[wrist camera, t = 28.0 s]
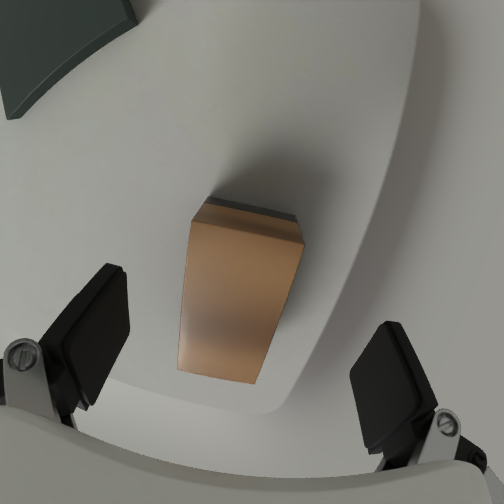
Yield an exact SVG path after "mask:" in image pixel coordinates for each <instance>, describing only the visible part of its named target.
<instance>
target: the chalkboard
mask: <svg viewBox="0 0 504 504" xmlns="http://www.w3.org/2000/svg"><path fill="white" fill-rule="evenodd" d="M137 25H138V22H137V19H136V17H135V14H134V11H133V9H132V6H131V3H130V1H129V0H0V89H1V94H2V100H3V105H4V109H5V114H6V118H7V120H12V119H19V118H21V117H22V116H23V115H24V114H25V113H26V112H27V110H28V109H29V108H30V107H31V106H32V105H33V104H34V103H35V102H36V101H37V100H38V99H39V98H40V97H41V96H42V95H43V94H45V93H46V92H47V91H48V90H49V89H50V88H51V87H52V86H53V85H54V84H55V83H57V82H58V81H59V80H60V79H61V78H62V77H64V76H65V75H66V74H67V73H68V72H70V71H71V70H72V69H73V68H74V67H76V66H77V65H78V64H80V63H81V62H82V61H84V60H85V59H86V58H88V57H89V56H90V55H92V54H93V53H94V52H96V51H97V50H99V49H100V48H102V47H103V46H104V45H106V44H107V43H109V42H111V41H112V40H114V39H115V38H117V37H118V36H120V35H122V34H123V33H125V32H127V31H128V30H130V29H132V28H133V27H135V26H137Z"/></svg>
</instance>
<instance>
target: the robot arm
mask: <svg viewBox="0 0 504 504" xmlns="http://www.w3.org/2000/svg"><path fill="white" fill-rule="evenodd" d="M129 332H130V321H129V309H128V294H127V275H126V272H123V269H122V267H120V266H117V265H113V264H109V263H106V264H105V265H104V266H103V267H102V268H101V269H100V270H99V271H98V272H97V273H96V274H95V276H94V277H93V278H92V279H91V280H90V281H89V282H88V283H87V284H86V286H85V287H84V288H83V289H82V290H81V291H80V293H78V294H77V295H76V296H75V297H74V298H73V299H72V300H71V302H70V303H69V304H68V305H67V306H66V308H65V309H64V310H63V311H62V312H61V314H60V315H59V316H58V317H57V319H56V320H55V321H54V322H53V324H52V325H51V326H50V328H49V329H48V330H47V331H46V333H45V334H44V335H43V337H42V338H41V339H40V341H39V342H38V343H37V342H35V341H34V340H32V339H28V338H22V339H18V340H15V341H14V342H12V343H10V345H9V346H8V347H7V348H6V350H5V352H4V356H3V359H0V504H504V485H503V484H502V482H501V481H500V480H499V479H498V477H497V476H496V475H495V474H494V472H493V471H492V470H491V469H490V467H489V466H488V467H487V458H486V454H485V453H484V452H483V450H481V449H480V448H479V447H478V446H476V445H474V444H473V443H472V442H470V441H469V440H467V439H466V438H464V437H463V436H461V435H460V433H461V424H460V421H459V419H458V417H457V416H456V415H455V414H454V413H453V412H452V411H451V410H448V409H439V410H438V411H437V412H435V411H434V409H435V408H436V407H437V406H438V402H437V400H436V398H435V395H434V393H433V390H432V388H431V386H430V384H429V381H428V379H427V377H426V375H425V373H424V370H423V368H422V366H421V364H420V361H419V359H418V357H417V355H416V353H415V351H414V349H413V347H412V345H411V343H410V341H409V339H408V337H407V335H406V333H405V331H404V329H403V327H402V325H401V324H400V323H399V322H393V321H385V322H384V323H383V324H381V325H380V326H379V327H378V329H377V330H376V332H375V334H374V335H373V337H372V338H371V340H370V342H369V343H368V345H367V346H366V348H365V349H364V351H363V352H362V354H361V355H360V357H359V358H358V360H357V361H356V363H355V364H354V366H353V367H352V368H351V370H350V381H351V385H352V389H353V394H354V397H355V402H356V407H357V411H358V416H359V421H360V426H361V431H362V436H363V440H364V445H365V447H366V448H368V453H369V455H370V454H378V453H381V452H383V455H384V457H383V458H382V460H381V462H380V464H379V466H378V467H377V469H376V470H375V472H374V473H367V474H359V475H351V476H340V477H325V478H268V477H255V476H243V475H235V474H227V473H220V472H213V471H208V470H202V469H197V468H192V467H187V466H182V465H178V464H174V463H169V462H166V461H162V460H158V459H155V458H151V457H148V456H145V455H141V454H138V453H135V452H132V451H129V450H126V449H123V448H120V447H118V446H115V445H112V444H109V443H107V442H104V441H101V440H99V439H96V438H94V437H91V436H89V435H87V434H84V433H82V432H80V431H78V429H77V426H76V423H75V420H74V417H73V414H72V413H74V411H75V409H76V407H78V408H80V409H83V410H85V411H87V409H88V407H89V405H91V406H92V405H94V403H95V402H96V400H97V398H98V396H99V394H100V391H101V389H102V387H103V385H104V383H105V381H106V379H107V377H108V375H109V373H110V371H111V369H112V367H113V365H114V363H115V361H116V359H117V357H118V355H119V353H120V351H121V349H122V347H123V345H124V343H125V342H126V340H127V338H128V336H129Z"/></svg>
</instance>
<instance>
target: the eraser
mask: <svg viewBox="0 0 504 504" xmlns="http://www.w3.org/2000/svg"><path fill="white" fill-rule="evenodd" d="M304 247H305V243H304V240H303V237H302V234H301V232H300V229H299V226H298V223H297V220H296V217H295V215H291V214H286V213H282V212H278V211H273V210H269V209H265V208H260V207H255V206H251V205H246V204H242V203H237V202H232V201H227V200H222V199H217V198H212V197H208V198H207V199H206V200H205V202H204V203H203V205H202V206H201V208H200V209H199V211H198V212H197V214H196V215H195V216H194V218H193V219H192V221H191V228H190V235H189V243H188V251H187V259H186V268H185V277H184V286H183V296H182V307H181V319H180V333H179V348H178V366H177V369H178V370H181V371H185V372H190V373H194V374H199V375H204V376H209V377H214V378H219V379H224V380H230V381H236V382H242V383H249V384H255V382H256V380H257V377H258V375H259V372H260V370H261V367H262V365H263V362H264V359H265V357H266V354H267V352H268V349H269V346H270V344H271V341H272V338H273V336H274V333H275V330H276V328H277V325H278V322H279V319H280V317H281V314H282V311H283V308H284V306H285V303H286V300H287V297H288V294H289V291H290V289H291V286H292V283H293V280H294V277H295V274H296V271H297V268H298V265H299V262H300V259H301V256H302V253H303V250H304Z"/></svg>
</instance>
